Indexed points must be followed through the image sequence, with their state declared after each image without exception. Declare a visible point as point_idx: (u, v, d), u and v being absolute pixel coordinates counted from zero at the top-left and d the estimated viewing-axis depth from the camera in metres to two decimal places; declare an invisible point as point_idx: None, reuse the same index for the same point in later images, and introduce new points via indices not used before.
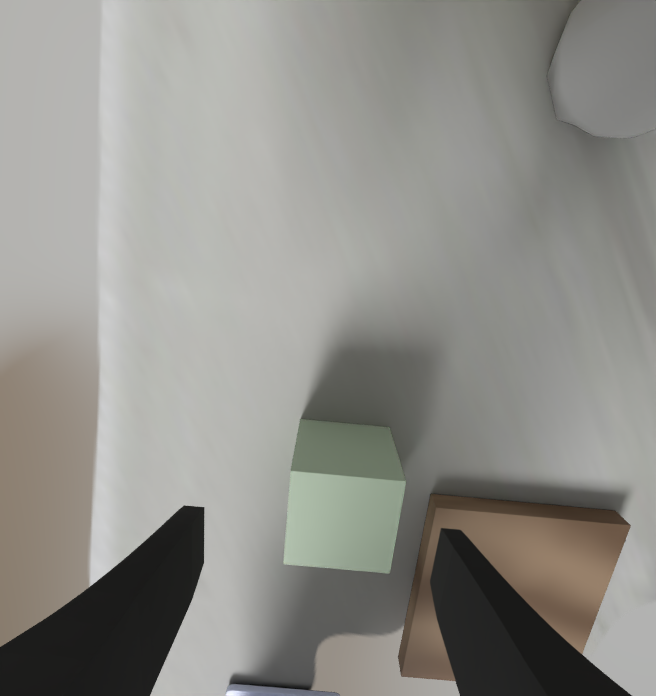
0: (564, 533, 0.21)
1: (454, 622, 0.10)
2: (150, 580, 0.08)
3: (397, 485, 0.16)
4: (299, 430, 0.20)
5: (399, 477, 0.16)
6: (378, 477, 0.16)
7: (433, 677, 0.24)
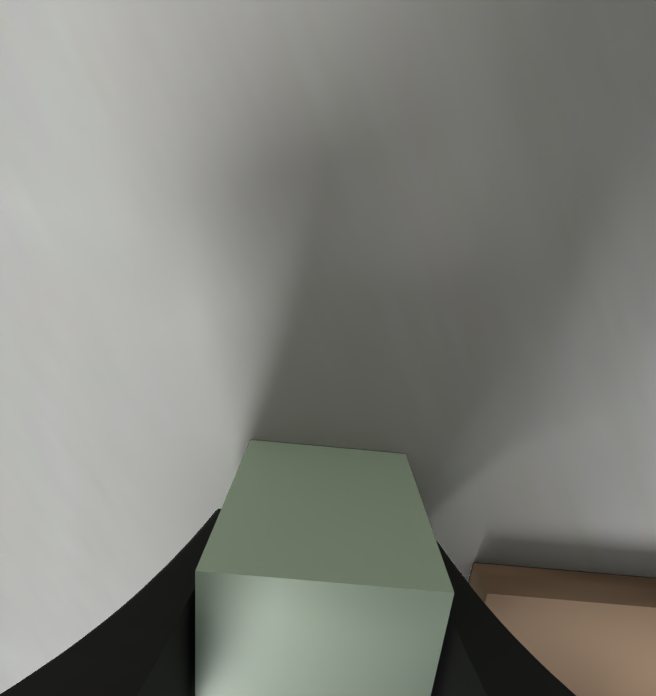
0: None
1: None
2: None
3: (434, 600, 0.07)
4: (242, 464, 0.11)
5: (438, 580, 0.07)
6: (393, 584, 0.07)
7: None
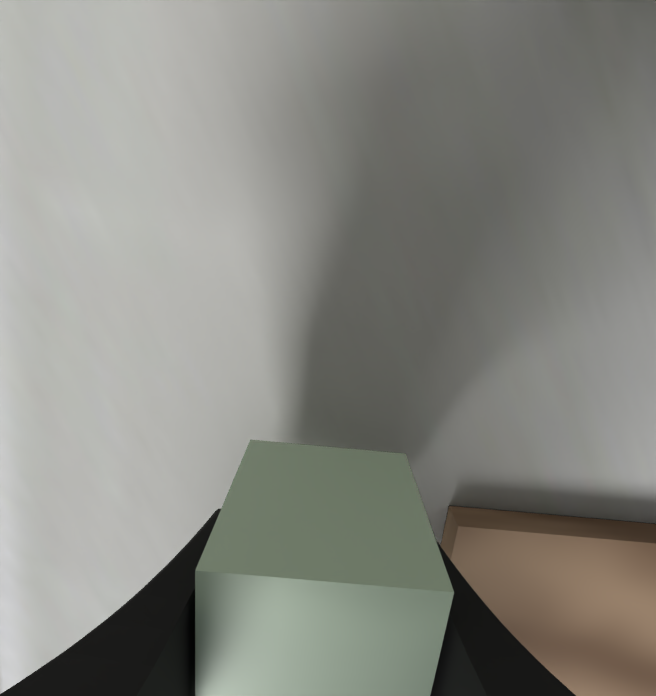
0: (637, 561, 0.15)
1: None
2: None
3: (434, 600, 0.07)
4: (242, 464, 0.11)
5: (437, 579, 0.07)
6: (393, 584, 0.07)
7: None
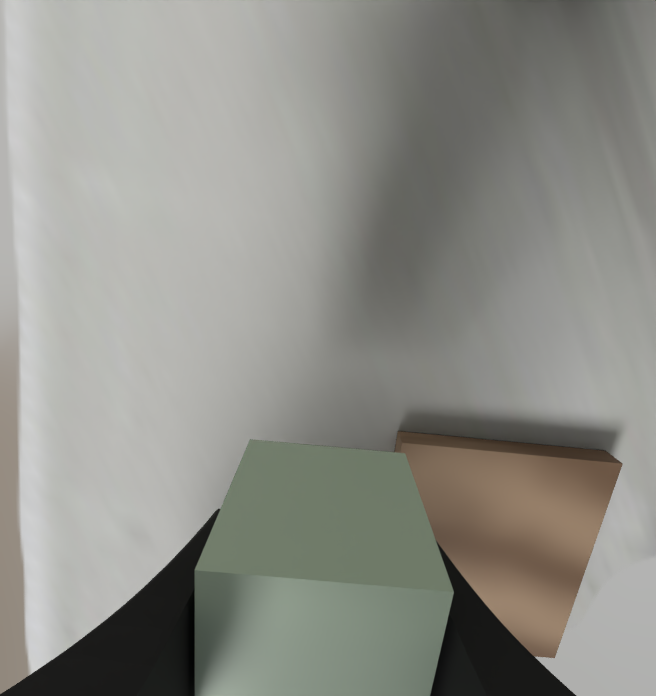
0: (547, 473, 0.19)
1: None
2: None
3: (434, 600, 0.07)
4: (242, 464, 0.11)
5: (437, 579, 0.07)
6: (392, 583, 0.07)
7: None
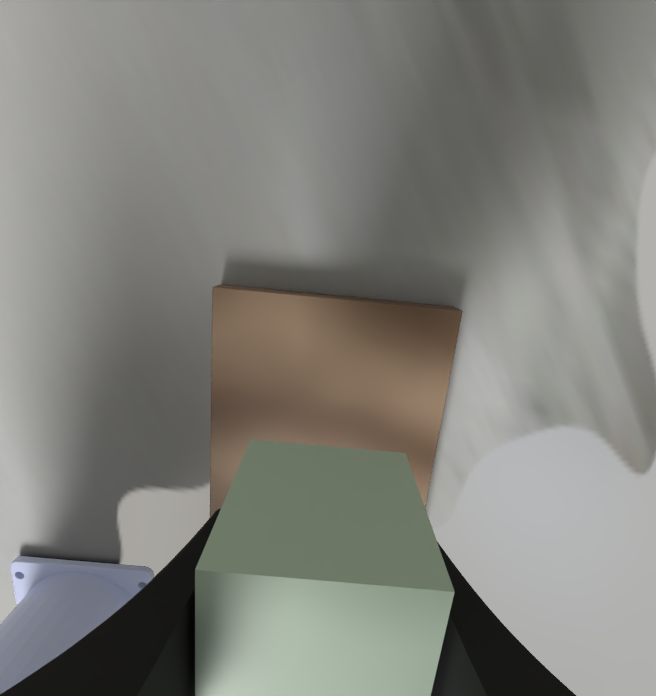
0: (380, 324, 0.17)
1: None
2: None
3: (435, 600, 0.07)
4: (242, 463, 0.11)
5: (438, 579, 0.07)
6: (393, 583, 0.07)
7: None
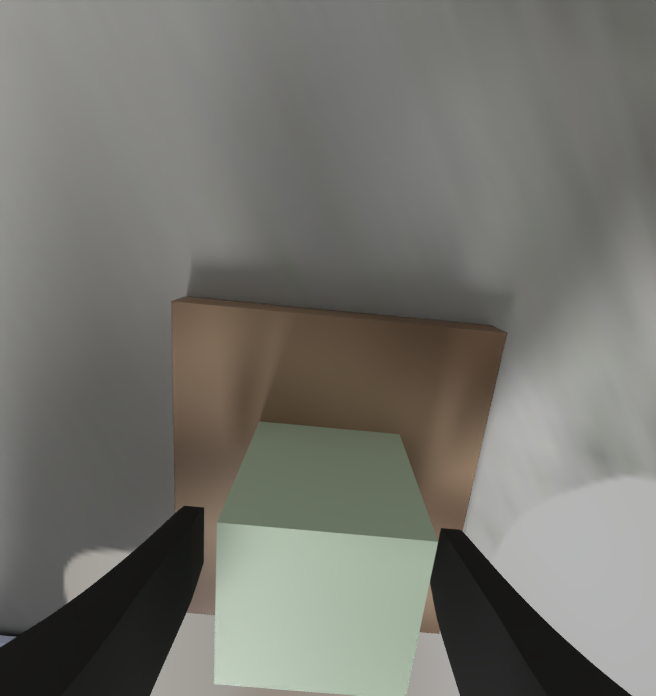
0: (396, 350, 0.12)
1: (454, 622, 0.10)
2: (150, 580, 0.08)
3: (421, 549, 0.08)
4: (253, 441, 0.12)
5: (424, 532, 0.09)
6: (386, 535, 0.08)
7: None
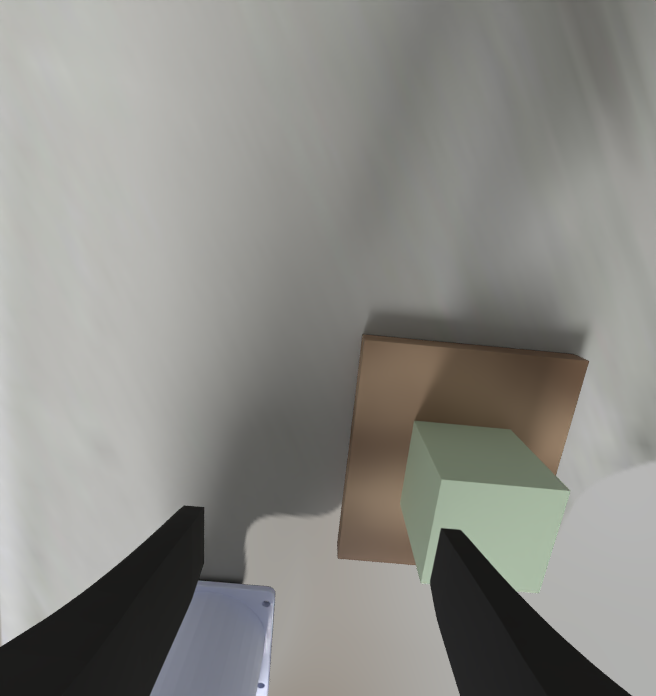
0: (513, 372, 0.18)
1: (454, 622, 0.10)
2: (150, 580, 0.08)
3: (560, 495, 0.14)
4: (421, 434, 0.18)
5: (560, 486, 0.15)
6: (539, 487, 0.14)
7: (373, 559, 0.21)
